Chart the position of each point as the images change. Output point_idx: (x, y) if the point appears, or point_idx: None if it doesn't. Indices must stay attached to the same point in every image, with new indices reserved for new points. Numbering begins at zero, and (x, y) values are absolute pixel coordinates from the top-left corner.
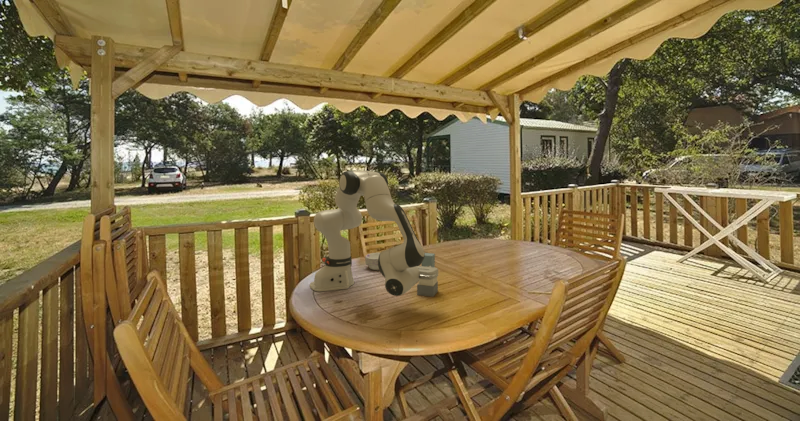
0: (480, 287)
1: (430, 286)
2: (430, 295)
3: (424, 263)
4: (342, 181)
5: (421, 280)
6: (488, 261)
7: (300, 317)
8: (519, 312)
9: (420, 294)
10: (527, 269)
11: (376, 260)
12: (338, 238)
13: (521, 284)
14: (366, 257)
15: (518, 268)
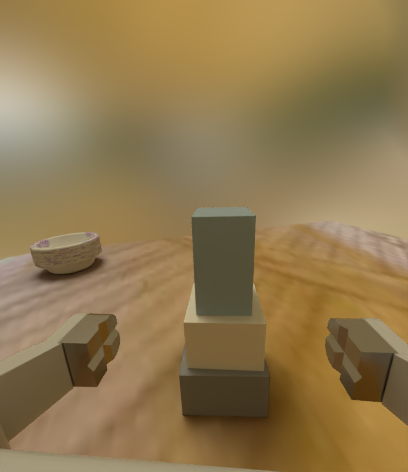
0: (346, 297)
1: (252, 377)
2: (251, 412)
3: (210, 261)
4: None
5: (200, 349)
6: (268, 229)
7: None
8: None
9: (199, 412)
10: (341, 235)
11: (54, 253)
12: None
13: (404, 270)
14: (30, 247)
15: (326, 235)
